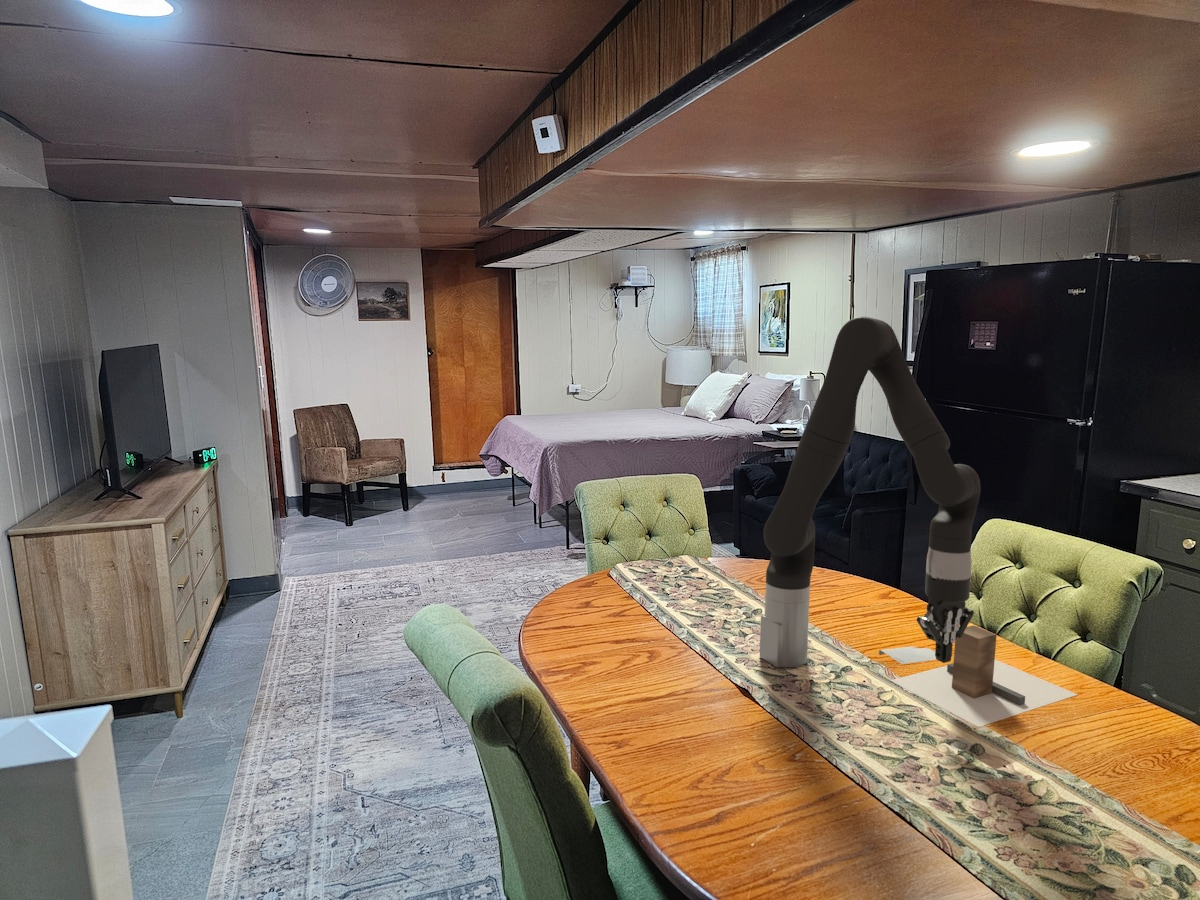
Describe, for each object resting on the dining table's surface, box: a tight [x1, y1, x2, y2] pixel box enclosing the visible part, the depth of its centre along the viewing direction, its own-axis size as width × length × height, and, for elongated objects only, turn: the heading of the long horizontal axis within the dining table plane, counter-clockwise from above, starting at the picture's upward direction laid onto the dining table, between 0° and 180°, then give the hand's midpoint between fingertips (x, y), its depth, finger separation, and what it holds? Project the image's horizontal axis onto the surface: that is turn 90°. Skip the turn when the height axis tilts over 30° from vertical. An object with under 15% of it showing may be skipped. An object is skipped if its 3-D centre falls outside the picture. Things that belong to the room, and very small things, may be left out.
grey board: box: [890, 659, 1078, 728], centre depth 146 cm, size 28×20×2 cm
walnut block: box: [952, 625, 998, 699], centre depth 144 cm, size 5×5×12 cm
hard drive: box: [878, 645, 938, 665], centre depth 162 cm, size 2×8×12 cm
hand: (943, 660), depth 140 cm, fingers closed
